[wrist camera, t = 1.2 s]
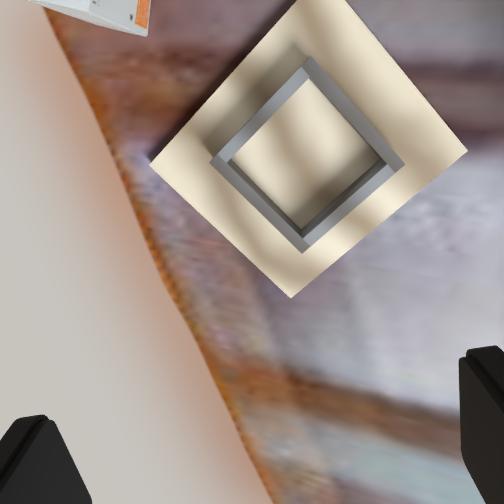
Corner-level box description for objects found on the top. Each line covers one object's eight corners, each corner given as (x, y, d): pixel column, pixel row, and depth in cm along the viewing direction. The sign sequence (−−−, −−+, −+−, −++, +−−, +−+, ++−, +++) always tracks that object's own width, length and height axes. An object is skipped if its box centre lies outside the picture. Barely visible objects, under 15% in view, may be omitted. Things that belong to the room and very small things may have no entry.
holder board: (320, -25, 32) (325, -37, 29) (462, 148, 36) (481, 155, 33) (152, 163, 38) (140, 170, 35) (290, 293, 42) (291, 311, 39)
